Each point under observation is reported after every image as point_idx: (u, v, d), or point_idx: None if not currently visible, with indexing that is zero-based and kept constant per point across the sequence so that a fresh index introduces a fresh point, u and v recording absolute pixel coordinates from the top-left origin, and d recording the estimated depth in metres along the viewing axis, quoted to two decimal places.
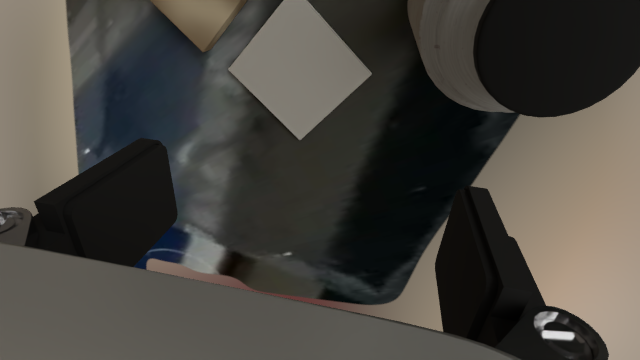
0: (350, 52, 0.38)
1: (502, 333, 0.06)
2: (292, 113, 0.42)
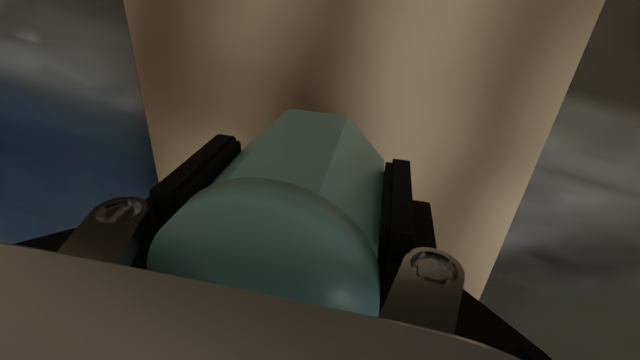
0: None
1: (391, 271, 0.08)
2: None
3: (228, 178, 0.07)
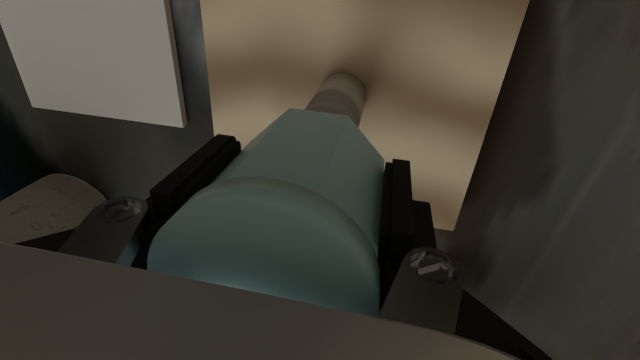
0: (71, 110, 0.25)
1: (391, 271, 0.08)
2: None
3: (228, 177, 0.07)
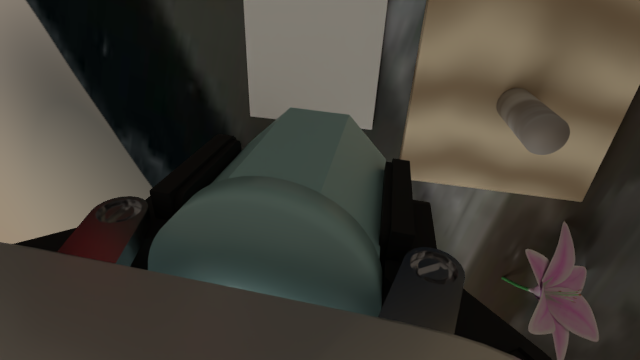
0: None
1: (391, 271, 0.08)
2: (278, 3, 0.29)
3: (229, 177, 0.07)
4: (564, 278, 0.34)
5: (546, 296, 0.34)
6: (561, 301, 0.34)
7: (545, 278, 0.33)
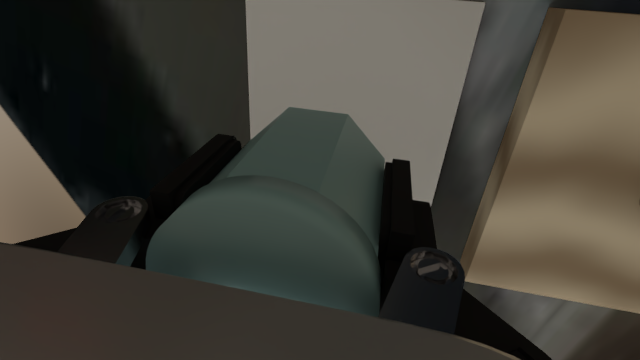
0: None
1: (391, 271, 0.08)
2: (300, 28, 0.19)
3: (227, 176, 0.07)
4: None
5: None
6: None
7: None
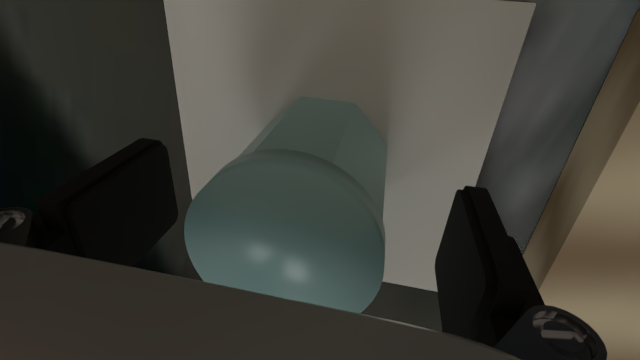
0: None
1: (501, 332, 0.06)
2: (247, 42, 0.12)
3: (255, 150, 0.09)
4: None
5: None
6: None
7: None
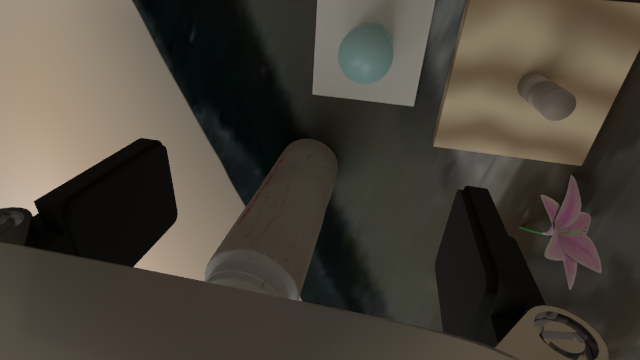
0: (339, 96, 0.41)
1: (502, 333, 0.06)
2: (345, 2, 0.36)
3: (358, 26, 0.33)
4: (572, 222, 0.41)
5: (557, 237, 0.41)
6: (570, 240, 0.41)
7: (557, 221, 0.40)
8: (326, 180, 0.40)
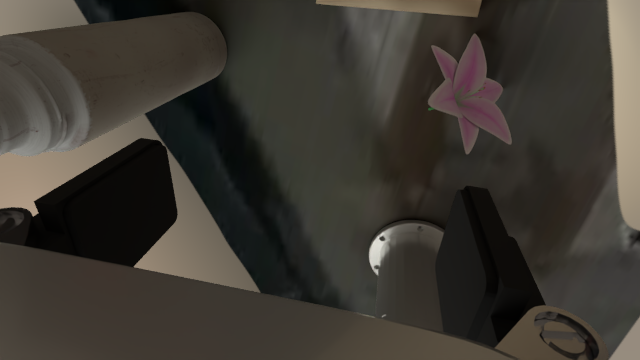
0: None
1: (502, 333, 0.06)
2: None
3: None
4: (477, 88, 0.36)
5: (461, 105, 0.36)
6: (474, 107, 0.36)
7: (457, 83, 0.35)
8: (193, 40, 0.35)
